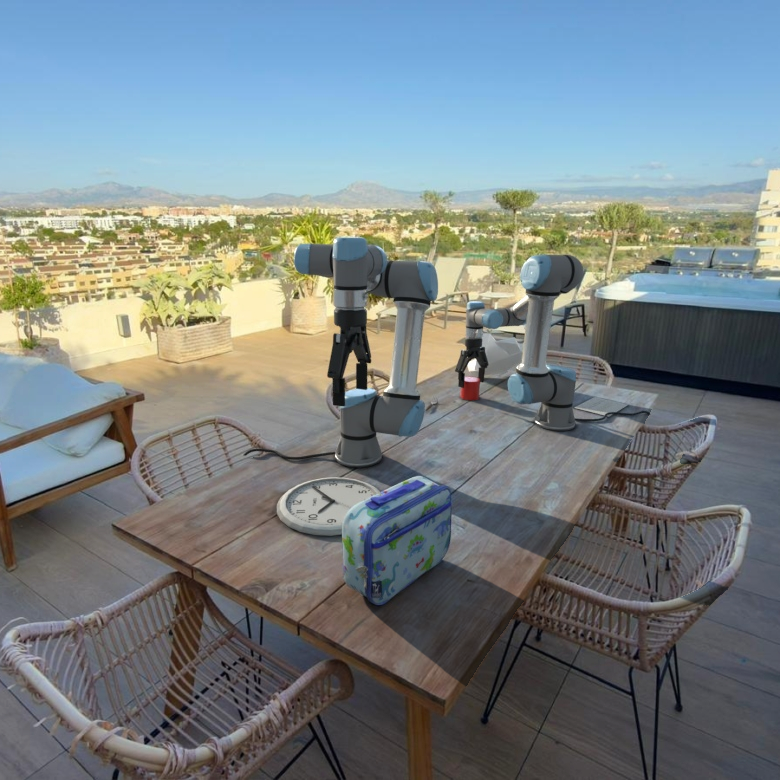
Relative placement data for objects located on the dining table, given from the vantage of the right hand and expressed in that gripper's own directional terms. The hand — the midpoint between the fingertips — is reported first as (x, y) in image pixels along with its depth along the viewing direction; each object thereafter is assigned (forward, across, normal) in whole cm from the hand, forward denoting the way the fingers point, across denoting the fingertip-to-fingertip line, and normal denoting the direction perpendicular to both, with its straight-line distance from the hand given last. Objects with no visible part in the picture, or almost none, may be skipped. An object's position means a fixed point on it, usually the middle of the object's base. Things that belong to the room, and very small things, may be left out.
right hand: (471, 384), depth 233 cm
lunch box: (+8, +110, +72) cm, 132 cm away
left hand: (-26, +104, +48) cm, 118 cm away
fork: (+6, +22, -3) cm, 24 cm away
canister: (+6, 0, -1) cm, 6 cm away
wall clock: (+7, +103, +37) cm, 110 cm away
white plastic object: (+6, -31, -4) cm, 32 cm away
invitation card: (+7, -35, +44) cm, 57 cm away
